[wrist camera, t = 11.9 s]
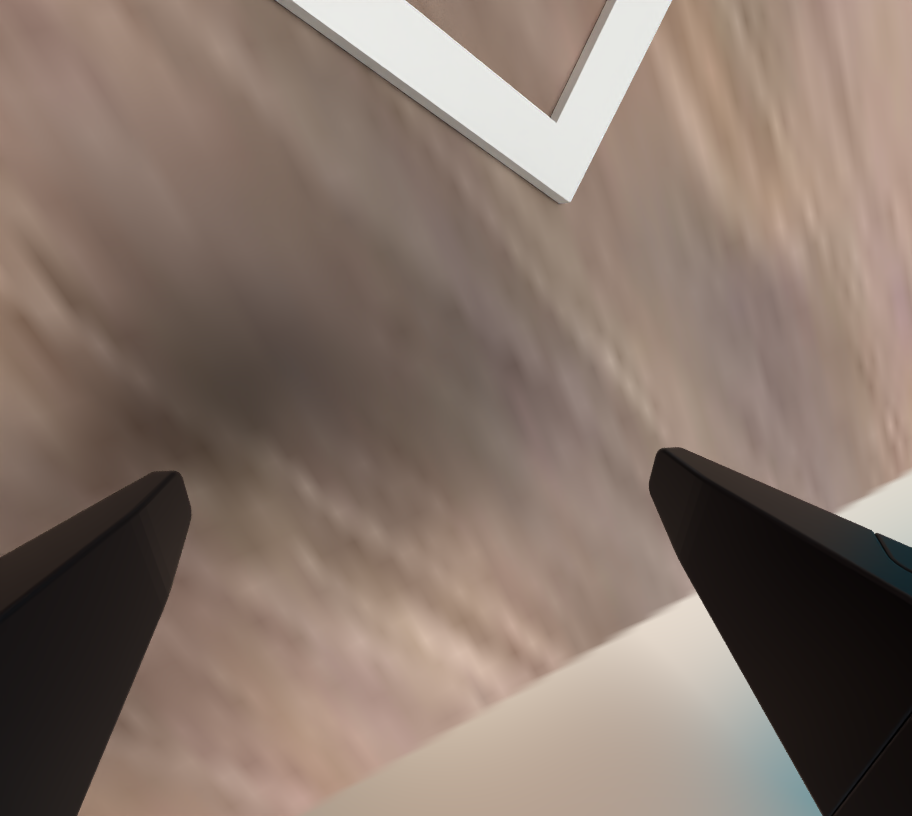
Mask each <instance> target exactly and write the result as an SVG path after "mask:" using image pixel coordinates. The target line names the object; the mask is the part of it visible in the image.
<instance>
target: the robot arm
mask: <svg viewBox="0 0 912 816" xmlns="http://www.w3.org/2000/svg"><path fill="white" fill-rule="evenodd" d="M649 491H650V495H651V497H652V499H653V502H654V504H655V506H656V509H657V511H658V513H659V516H660V518H661V520H662V523H663V525H664V527H665V530H666V532H667V534H668V537H669V539H670V541H671V544H672V546H673V548H674V550H675V553H676V555H677V557H678V559H679V561H680V563H681V565H682V567H683V568H684V570H685V572H686V574H687V576H688V577H689V579H690V581H691V583H692V584H693V586H694V588H695V590H696V592H697V593H698V595H699V597H700V599H701V600H702V602H703V604H704V606H705V608H706V609H707V611H708V613H709V615H710V616H711V618H712V620H713V622H714V623H715V625H716V627H717V629H718V631H719V632H720V634H721V636H722V638H723V640H724V641H725V643H726V645H727V646H728V648H729V650H730V652H731V654H732V656H733V657H734V659H735V661H736V663H737V664H738V666H739V668H740V670H741V672H742V673H743V675H744V677H745V679H746V680H747V682H748V684H749V685H750V688H751V689H752V691H753V693H754V695H755V696H756V698H757V700H758V702H759V704H760V705H761V707H762V709H763V710H764V712H765V714H766V716H767V718H768V720H769V721H770V723H771V725H772V726H773V728H774V730H775V732H776V734H777V736H778V737H779V739H780V741H781V742H782V744H783V746H784V748H785V750H786V752H787V753H788V755H789V757H790V758H791V760H792V762H793V764H794V766H795V768H796V769H797V771H798V773H799V775H800V776H801V778H802V780H803V782H804V784H805V785H806V787H807V789H808V791H809V792H810V794H811V796H812V798H813V799H814V801H815V803H816V804H817V807H818V808H819V810H820V812H821V814H822V815H823V816H912V547H909V546H907V545H904V544H902V543H900V542H897V541H895V540H893V539H891V538H888V537H886V536H884V535H881V534H879V533H875V534H874V532H873V531H872V530H870V529H867V528H865V527H863V526H860V525H858V524H856V523H853V522H851V521H849V520H847V519H844V518H842V517H840V516H837V515H835V514H833V513H831V512H828V511H826V510H824V509H821V508H819V507H817V506H814V505H812V504H810V503H807V502H805V501H803V500H801V499H798V498H796V497H794V496H791V495H789V494H787V493H784V492H782V491H780V490H778V489H775V488H773V487H771V486H768V485H766V484H764V483H761V482H759V481H757V480H755V479H752V478H750V477H748V476H745V475H743V474H741V473H738V472H736V471H734V470H732V469H729V468H727V467H725V466H722V465H720V464H718V463H715V462H713V461H711V460H709V459H706V458H704V457H702V456H699V455H697V454H695V453H692V452H690V451H688V450H686V449H683V448H679V447H673V448H661V449H660V450H659V451H658V452H657V454H656V457H655V460H654V464H653V468H652V472H651V476H650V480H649ZM190 521H191V506H190V502H189V499H188V495H187V492H186V488H185V485H184V481H183V478H182V476H181V474H180V473H179V472H177V471H156V472H152V473H150V474H148V475H146V476H144V477H143V478H141V479H139V480H137V481H135V482H134V483H132V484H130V485H128V486H127V487H125V488H123V489H121V490H119V491H118V492H116V493H114V494H112V495H111V496H109V497H107V498H105V499H103V500H102V501H100V502H98V503H96V504H94V505H93V506H91V507H89V508H87V509H86V510H84V511H82V512H80V513H78V514H77V515H75V516H73V517H71V518H70V519H68V520H66V521H64V522H62V523H61V524H59V525H57V526H55V527H54V528H52V529H50V530H48V531H46V532H45V533H43V534H41V535H39V536H38V537H36V538H34V539H32V540H30V541H29V542H27V543H25V544H23V545H22V546H20V547H18V548H16V549H14V550H13V551H11V552H9V553H7V554H6V555H4V556H2V557H0V816H77V815H78V812H79V810H80V808H81V805H82V803H83V800H84V798H85V796H86V793H87V791H88V788H89V786H90V784H91V781H92V779H93V777H94V774H95V772H96V769H97V767H98V765H99V762H100V760H101V757H102V755H103V753H104V750H105V748H106V745H107V743H108V741H109V738H110V736H111V734H112V731H113V729H114V726H115V724H116V722H117V719H118V717H119V714H120V712H121V710H122V707H123V705H124V703H125V700H126V698H127V695H128V693H129V691H130V688H131V686H132V683H133V681H134V679H135V676H136V674H137V672H138V669H139V667H140V664H141V662H142V660H143V657H144V655H145V652H146V650H147V648H148V645H149V643H150V640H151V638H152V636H153V633H154V631H155V629H156V626H157V624H158V621H159V619H160V617H161V614H162V612H163V609H164V607H165V604H166V602H167V599H168V597H169V593H170V590H171V587H172V584H173V581H174V577H175V574H176V570H177V567H178V563H179V560H180V556H181V553H182V549H183V546H184V542H185V539H186V535H187V532H188V528H189V525H190Z"/></svg>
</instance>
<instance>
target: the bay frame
mask: <svg viewBox="0 0 912 816" xmlns="http://www.w3.org/2000/svg"><path fill="white" fill-rule="evenodd" d="M275 1H277V2H278V3H280V4H281V5H282V6H284V7H285V8H287V9H288V10H289V11H291V12H292V13H294V14H295V15H296V16H298V17H299V18H301V19H302V20H303V21H305V22H306V23H308V24H309V25H310V26H312V27H313V28H315V29H316V30H317V31H319V32H320V33H322V34H323V35H324V36H326V37H327V38H329V39H330V40H331V41H333V42H334V43H336V44H337V45H338V46H340V47H341V48H343V49H344V50H345V51H347V52H348V53H350V54H351V55H352V56H354V57H355V58H356V59H358V60H359V61H361V62H362V63H363V64H365V65H366V66H368V67H369V68H370V69H372V70H373V71H375V72H376V73H377V74H379V75H380V76H382V77H383V78H384V79H386V80H387V81H389V82H390V83H391V84H393V85H394V86H396V87H397V88H398V89H400V90H401V91H403V92H404V93H405V94H407V95H408V96H410V97H411V98H412V99H414V100H415V101H417V102H418V103H419V104H421V105H422V106H424V107H425V108H426V109H428V110H429V111H431V112H432V113H433V114H435V115H436V116H437V117H439V118H440V119H442V120H443V121H444V122H446V123H447V124H449V125H450V126H451V127H453V128H454V129H456V130H457V131H458V132H460V133H461V134H463V135H464V136H465V137H467V138H468V139H470V140H471V141H472V142H474V143H475V144H477V145H478V146H479V147H481V148H482V149H484V150H485V151H486V152H488V153H489V154H491V155H492V156H493V157H495V158H496V159H498V160H499V161H500V162H502V163H503V164H505V165H506V166H507V167H509V168H510V169H512V170H513V171H514V172H516V173H517V174H518V175H520V176H521V177H523V178H524V179H525V180H527V181H528V182H530V183H531V184H532V185H534V186H535V187H537V188H538V189H539V190H541V191H542V192H544V193H545V194H546V195H548V196H549V197H551V198H552V199H553V200H555V201H556V202H558V203H559V204H562V203H570V202H571V200H572V198H573V196H574V194H575V192H576V190H577V188H578V186H579V184H580V182H581V180H582V178H583V176H584V174H585V172H586V170H587V168H588V166H589V164H590V162H591V160H592V158H593V156H594V154H595V152H596V150H597V148H598V146H599V144H600V142H601V140H602V138H603V136H604V134H605V132H606V130H607V128H608V126H609V124H610V122H611V120H612V118H613V116H614V115H615V113H616V111H617V109H618V107H619V105H620V103H621V101H622V99H623V97H624V95H625V93H626V91H627V89H628V87H629V85H630V83H631V81H632V79H633V77H634V75H635V73H636V71H637V69H638V67H639V65H640V63H641V61H642V59H643V57H644V55H645V53H646V51H647V49H648V47H649V45H650V43H651V41H652V39H653V37H654V35H655V33H656V31H657V29H658V27H659V25H660V23H661V21H662V19H663V17H664V15H665V13H666V11H667V9H668V7H669V5H670V3H671V1H672V0H607V2H606V4H605V6H604V8H603V10H602V12H601V14H600V16H599V18H598V20H597V22H596V24H595V27H594V29H593V31H592V33H591V35H590V37H589V39H588V41H587V43H586V45H585V47H584V49H583V51H582V53H581V55H580V58H579V60H578V62H577V64H576V66H575V68H574V70H573V72H572V74H571V76H570V78H569V80H568V82H567V84H566V86H565V88H564V91H563V93H562V95H561V97H560V99H559V101H558V103H557V105H556V107H555V109H554V111H553V113H552V115H551V117H548V116H547V115H546V114H545V113H544V112H542V111H541V110H540V109H539V108H537V107H536V106H535V105H534V104H532V103H531V102H530V101H529V100H528V99H526V98H525V97H524V96H523V95H521V94H520V93H519V92H518V91H516V90H515V89H514V88H513V87H512V86H510V85H509V84H508V83H507V82H505V81H504V80H503V79H502V78H500V77H499V76H498V75H497V74H495V73H494V72H493V71H492V70H491V69H489V68H488V67H487V66H486V65H484V64H483V63H482V62H481V61H479V60H478V59H477V58H476V57H475V56H473V55H472V54H471V53H470V52H468V51H467V50H466V49H465V48H463V47H462V46H461V45H460V44H459V43H457V42H456V41H455V40H454V39H452V38H451V37H450V36H449V35H447V34H446V33H445V32H444V31H443V30H441V29H440V28H439V27H438V26H436V25H435V24H434V23H433V22H431V21H430V20H429V19H428V18H427V17H425V16H424V15H423V14H422V13H420V12H419V11H418V10H417V9H415V8H414V7H413V6H412V5H411V4H409V3H408V2H407V1H406V0H275Z"/></svg>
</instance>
